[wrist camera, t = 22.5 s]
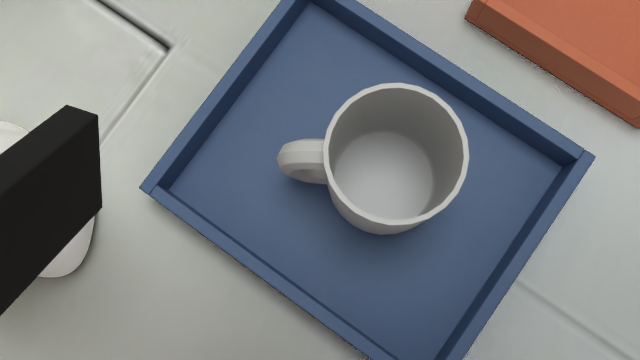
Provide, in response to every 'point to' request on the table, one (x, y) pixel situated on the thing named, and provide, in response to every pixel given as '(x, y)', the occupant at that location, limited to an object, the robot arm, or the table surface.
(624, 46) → the terracotta tray
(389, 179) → the cup
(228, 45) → the table surface
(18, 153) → the robot arm
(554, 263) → the table surface
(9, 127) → the torso sculpture
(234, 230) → the blue tray
